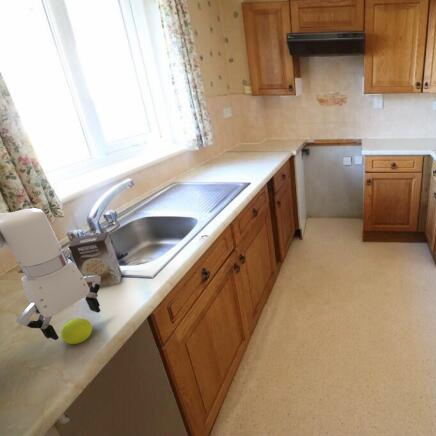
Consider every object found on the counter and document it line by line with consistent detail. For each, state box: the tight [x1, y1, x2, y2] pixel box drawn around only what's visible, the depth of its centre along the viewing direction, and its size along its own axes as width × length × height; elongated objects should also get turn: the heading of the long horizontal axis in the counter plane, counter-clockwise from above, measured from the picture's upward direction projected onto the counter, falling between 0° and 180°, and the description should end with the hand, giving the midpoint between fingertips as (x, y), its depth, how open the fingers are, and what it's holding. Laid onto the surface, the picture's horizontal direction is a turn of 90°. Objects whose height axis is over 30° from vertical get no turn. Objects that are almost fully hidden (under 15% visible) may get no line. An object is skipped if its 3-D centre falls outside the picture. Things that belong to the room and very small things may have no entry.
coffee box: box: [68, 231, 123, 289], centre depth 98 cm, size 9×6×16 cm
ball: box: [60, 317, 93, 345], centre depth 79 cm, size 6×6×6 cm
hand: (75, 323), depth 78 cm, fingers open, 9 cm apart
